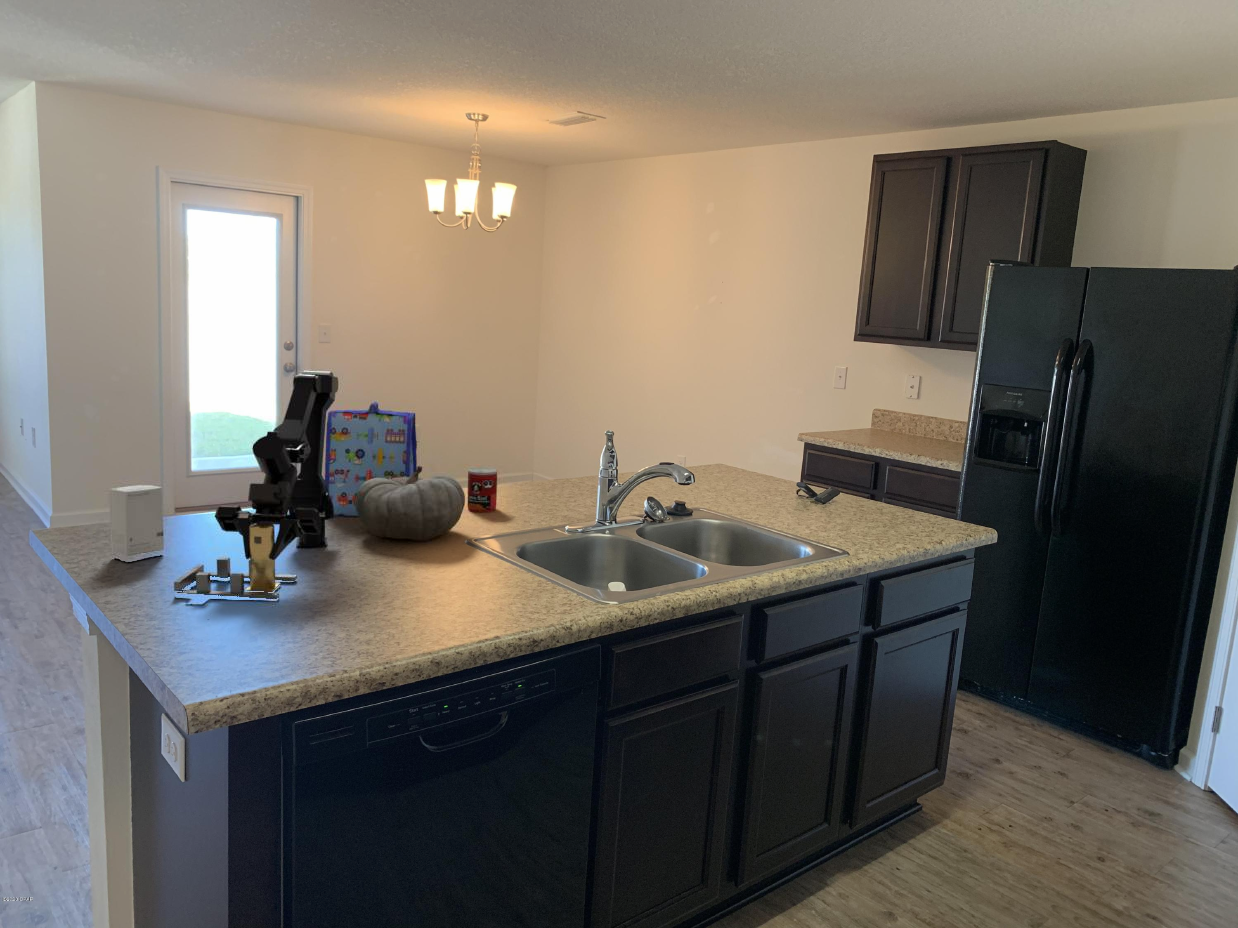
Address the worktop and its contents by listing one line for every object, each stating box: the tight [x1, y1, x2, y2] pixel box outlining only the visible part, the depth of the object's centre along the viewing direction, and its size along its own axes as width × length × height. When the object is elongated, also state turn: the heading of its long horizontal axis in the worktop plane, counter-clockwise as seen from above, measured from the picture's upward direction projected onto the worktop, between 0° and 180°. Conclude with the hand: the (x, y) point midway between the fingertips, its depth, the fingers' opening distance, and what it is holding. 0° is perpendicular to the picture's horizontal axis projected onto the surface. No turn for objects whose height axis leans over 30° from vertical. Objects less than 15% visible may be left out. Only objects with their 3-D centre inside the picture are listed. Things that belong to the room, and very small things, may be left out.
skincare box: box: [108, 484, 165, 556], centre depth 184 cm, size 8×6×15 cm
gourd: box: [355, 465, 466, 542], centre depth 211 cm, size 25×25×17 cm
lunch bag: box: [324, 401, 418, 517], centre depth 231 cm, size 22×14×29 cm, turn 92°
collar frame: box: [173, 556, 298, 599], centre depth 167 cm, size 16×18×4 cm
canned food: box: [467, 466, 498, 513], centre depth 242 cm, size 8×8×11 cm
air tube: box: [245, 523, 282, 592], centre depth 168 cm, size 5×5×12 cm
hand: (259, 558), depth 166 cm, fingers closed on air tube, 4 cm apart
